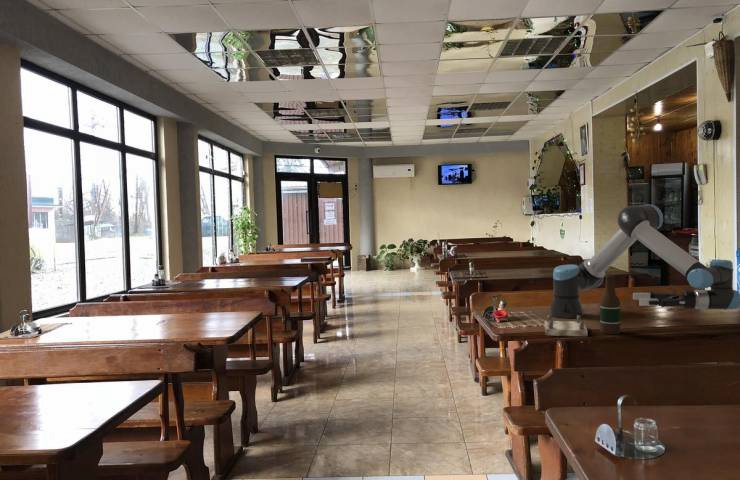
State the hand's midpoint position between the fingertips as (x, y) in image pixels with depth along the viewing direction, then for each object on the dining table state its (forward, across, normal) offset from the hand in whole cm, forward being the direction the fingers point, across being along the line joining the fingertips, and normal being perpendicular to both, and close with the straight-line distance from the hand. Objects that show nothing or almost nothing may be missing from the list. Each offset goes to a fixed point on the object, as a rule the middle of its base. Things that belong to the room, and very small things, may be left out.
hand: (636, 299), depth 236 cm
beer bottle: (+10, 0, -14) cm, 17 cm away
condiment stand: (+28, 0, -14) cm, 31 cm away
